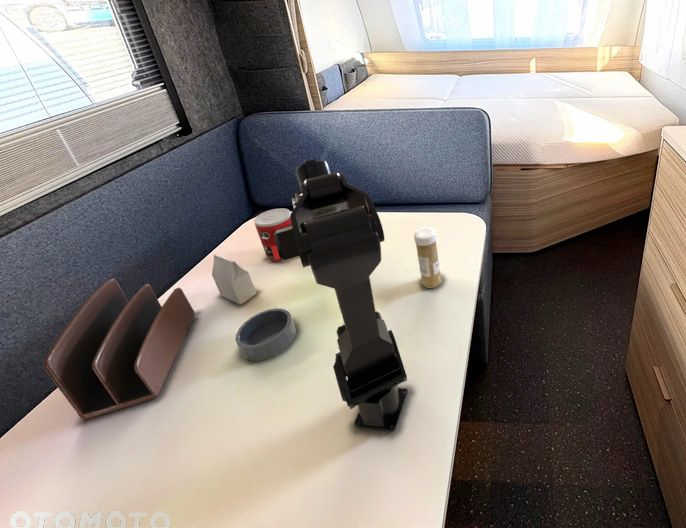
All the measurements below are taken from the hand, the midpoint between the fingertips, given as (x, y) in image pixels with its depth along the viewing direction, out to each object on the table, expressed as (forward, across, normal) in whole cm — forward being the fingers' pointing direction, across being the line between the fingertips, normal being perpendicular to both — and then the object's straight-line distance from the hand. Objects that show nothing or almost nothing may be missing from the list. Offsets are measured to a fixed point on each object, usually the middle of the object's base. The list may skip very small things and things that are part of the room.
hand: (331, 241), depth 85 cm
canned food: (+20, +11, -6) cm, 23 cm away
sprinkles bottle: (-2, -17, +16) cm, 24 cm away
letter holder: (+4, +35, +10) cm, 36 cm away
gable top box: (+12, +20, +2) cm, 24 cm away
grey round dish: (-1, +15, +15) cm, 21 cm away
